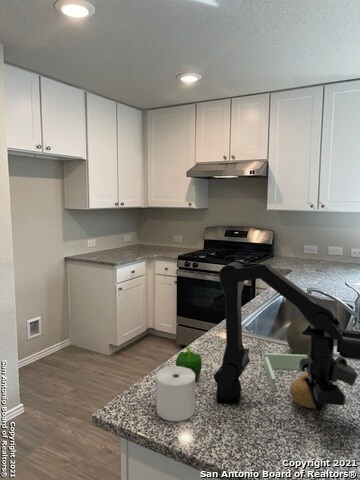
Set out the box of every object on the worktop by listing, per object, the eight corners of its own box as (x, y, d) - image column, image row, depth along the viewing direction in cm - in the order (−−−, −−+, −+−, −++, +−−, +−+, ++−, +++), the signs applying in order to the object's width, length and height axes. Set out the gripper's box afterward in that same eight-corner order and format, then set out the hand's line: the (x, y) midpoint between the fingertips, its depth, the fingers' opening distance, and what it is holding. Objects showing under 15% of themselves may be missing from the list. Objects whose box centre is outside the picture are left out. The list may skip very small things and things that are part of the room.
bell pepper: (199, 386, 106) (200, 355, 105) (173, 383, 108) (173, 353, 107) (203, 373, 114) (203, 345, 113) (179, 371, 116) (179, 342, 115)
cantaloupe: (282, 360, 125) (283, 320, 123) (289, 346, 137) (290, 309, 135) (324, 368, 118) (326, 326, 117) (327, 353, 130) (329, 314, 129)
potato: (334, 398, 100) (335, 371, 99) (320, 421, 89) (321, 392, 88) (300, 387, 106) (301, 362, 105) (283, 408, 95) (284, 380, 94)
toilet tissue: (183, 427, 87) (183, 389, 86) (144, 412, 93) (144, 377, 92) (201, 405, 96) (201, 371, 95) (165, 394, 102) (165, 361, 101)
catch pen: (271, 391, 103) (272, 375, 103) (264, 366, 119) (264, 353, 119) (337, 395, 102) (338, 379, 101) (320, 369, 117) (321, 355, 117)
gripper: (370, 371, 77) (367, 437, 78) (341, 340, 95) (338, 393, 97) (319, 369, 78) (316, 433, 80) (300, 338, 97) (298, 391, 98)
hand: (318, 411), depth 89 cm, fingers closed
